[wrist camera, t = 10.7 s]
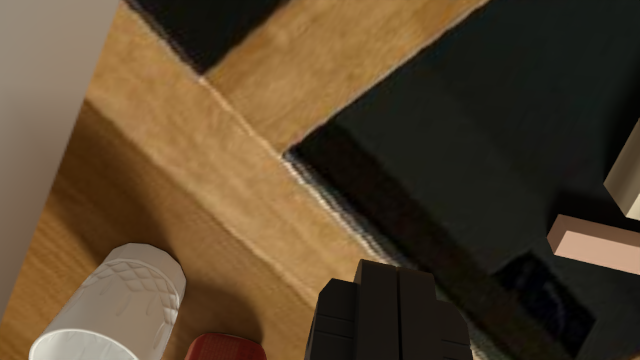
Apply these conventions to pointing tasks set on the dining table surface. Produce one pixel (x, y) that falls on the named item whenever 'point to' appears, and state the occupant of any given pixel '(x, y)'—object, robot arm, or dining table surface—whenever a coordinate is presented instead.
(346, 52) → the dining table surface
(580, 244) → the frame
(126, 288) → the white cup
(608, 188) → the T block
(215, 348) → the snack package
